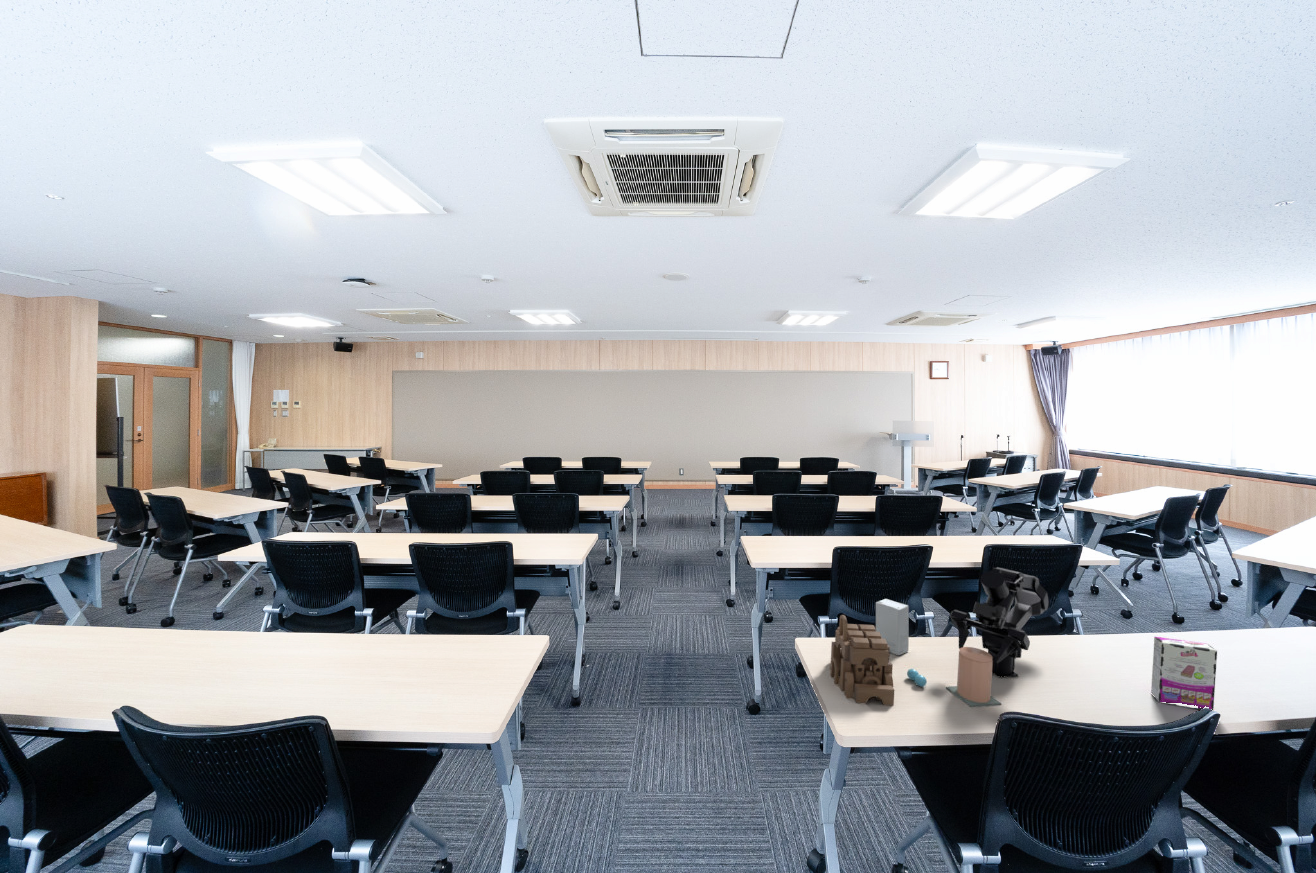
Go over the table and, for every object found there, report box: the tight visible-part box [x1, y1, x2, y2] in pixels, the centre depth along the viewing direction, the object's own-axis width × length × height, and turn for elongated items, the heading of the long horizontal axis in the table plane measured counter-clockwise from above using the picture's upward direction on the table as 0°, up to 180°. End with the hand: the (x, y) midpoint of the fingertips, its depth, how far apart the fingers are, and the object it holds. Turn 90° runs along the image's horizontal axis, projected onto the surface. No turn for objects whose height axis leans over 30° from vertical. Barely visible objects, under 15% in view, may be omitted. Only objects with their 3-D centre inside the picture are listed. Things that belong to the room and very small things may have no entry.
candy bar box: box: [1150, 636, 1218, 711], centre depth 139 cm, size 11×5×16 cm, turn 68°
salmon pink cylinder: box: [956, 646, 993, 703], centre depth 140 cm, size 8×8×11 cm
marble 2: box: [913, 674, 928, 688], centre depth 144 cm, size 3×3×3 cm
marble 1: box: [906, 668, 920, 681], centre depth 148 cm, size 3×3×3 cm
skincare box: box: [875, 598, 910, 656], centre depth 166 cm, size 8×6×15 cm
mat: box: [945, 685, 1002, 708], centre depth 140 cm, size 9×9×1 cm
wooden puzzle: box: [829, 614, 895, 706], centre depth 145 cm, size 22×15×19 cm, turn 176°
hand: (977, 655), depth 143 cm, fingers open, 9 cm apart
